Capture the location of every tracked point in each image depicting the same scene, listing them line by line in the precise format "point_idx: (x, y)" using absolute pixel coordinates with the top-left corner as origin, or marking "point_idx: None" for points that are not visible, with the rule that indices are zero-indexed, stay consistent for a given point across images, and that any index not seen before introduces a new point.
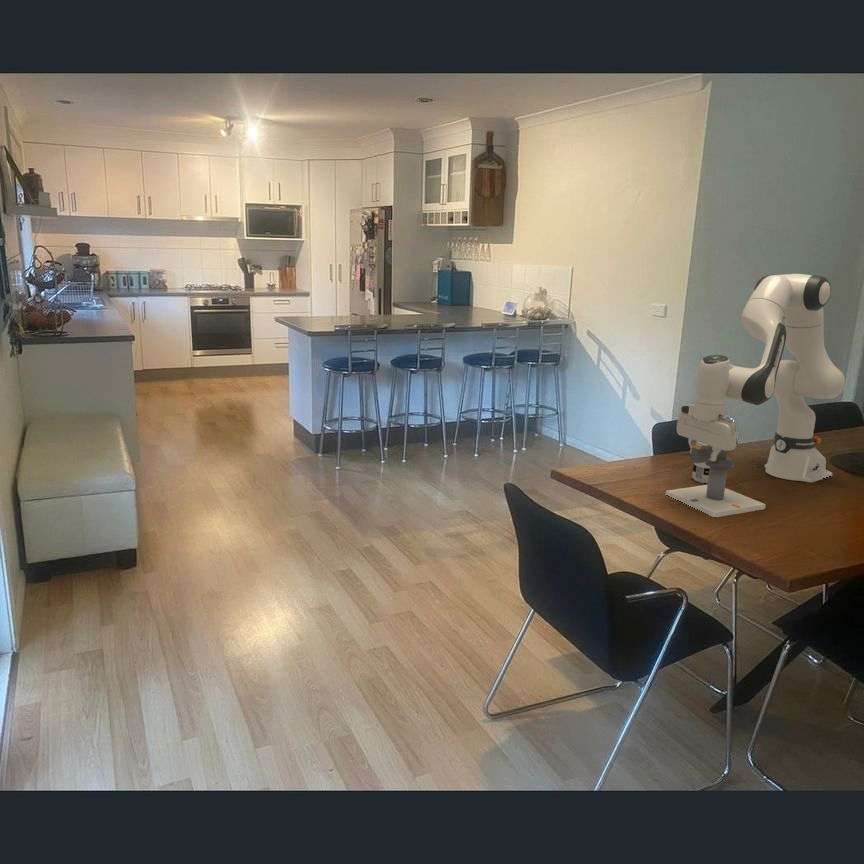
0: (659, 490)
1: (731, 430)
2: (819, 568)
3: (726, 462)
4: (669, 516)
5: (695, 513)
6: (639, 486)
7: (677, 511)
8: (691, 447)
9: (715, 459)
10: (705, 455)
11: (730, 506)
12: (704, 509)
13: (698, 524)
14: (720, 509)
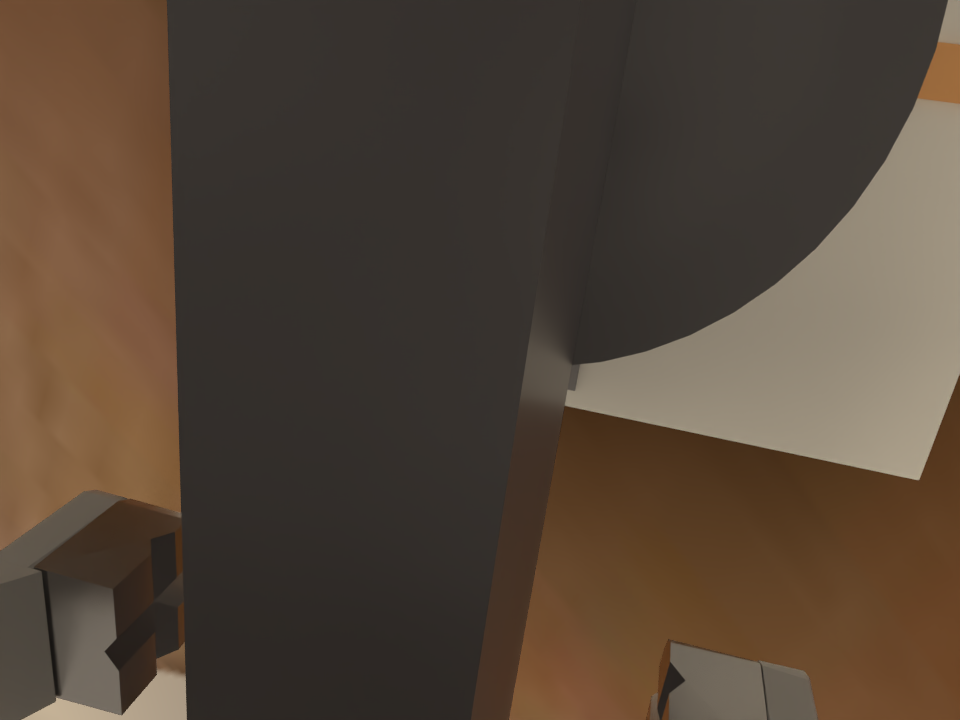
0: (140, 257)
1: None
2: None
3: (859, 176)
4: (636, 709)
5: (718, 496)
6: (12, 325)
7: (596, 574)
8: (20, 704)
9: (800, 706)
10: (493, 714)
11: (931, 148)
12: (764, 439)
13: (897, 693)
14: (903, 344)
